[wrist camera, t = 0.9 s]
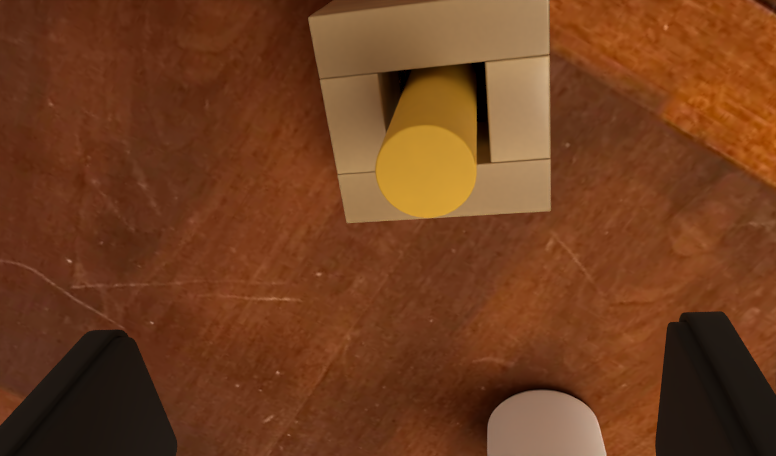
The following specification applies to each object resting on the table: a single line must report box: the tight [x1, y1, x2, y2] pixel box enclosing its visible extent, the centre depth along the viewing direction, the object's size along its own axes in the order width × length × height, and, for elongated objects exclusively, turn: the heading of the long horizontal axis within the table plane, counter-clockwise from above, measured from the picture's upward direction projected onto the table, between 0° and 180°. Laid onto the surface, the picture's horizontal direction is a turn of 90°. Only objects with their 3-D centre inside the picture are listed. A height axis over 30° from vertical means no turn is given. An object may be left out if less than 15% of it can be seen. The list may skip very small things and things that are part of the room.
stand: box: [308, 0, 551, 223], centre depth 24 cm, size 8×8×5 cm
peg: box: [375, 63, 477, 218], centre depth 22 cm, size 3×3×10 cm
